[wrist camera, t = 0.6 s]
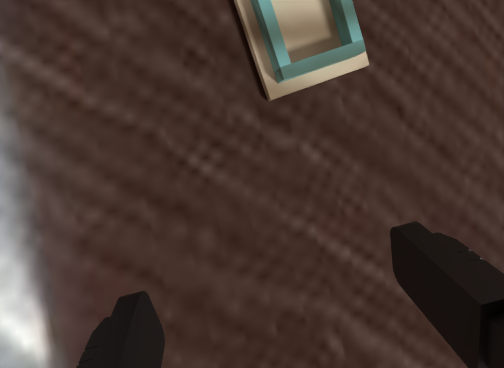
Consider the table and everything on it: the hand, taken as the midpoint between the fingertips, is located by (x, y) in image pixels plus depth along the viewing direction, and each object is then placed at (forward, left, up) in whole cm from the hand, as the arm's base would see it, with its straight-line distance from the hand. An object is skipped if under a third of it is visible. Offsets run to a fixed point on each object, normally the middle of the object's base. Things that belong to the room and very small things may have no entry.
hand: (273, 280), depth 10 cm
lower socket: (-13, +15, -24) cm, 31 cm away
